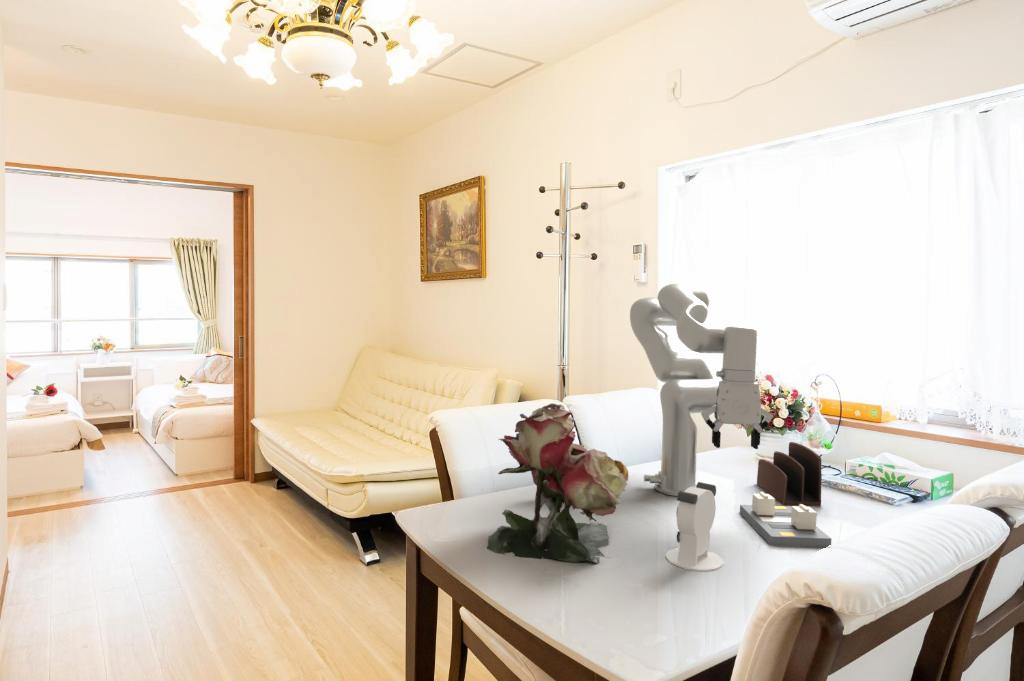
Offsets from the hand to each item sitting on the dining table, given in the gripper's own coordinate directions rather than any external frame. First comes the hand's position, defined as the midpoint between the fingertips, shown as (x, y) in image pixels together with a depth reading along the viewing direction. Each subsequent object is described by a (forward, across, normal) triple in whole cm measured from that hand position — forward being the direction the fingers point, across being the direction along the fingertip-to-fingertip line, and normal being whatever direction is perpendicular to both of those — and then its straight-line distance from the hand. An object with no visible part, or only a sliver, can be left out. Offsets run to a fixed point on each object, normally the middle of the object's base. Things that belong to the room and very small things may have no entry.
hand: (735, 447), depth 156 cm
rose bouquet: (+19, -43, -16) cm, 50 cm away
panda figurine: (+19, -15, -25) cm, 35 cm away
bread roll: (+18, -27, +30) cm, 45 cm away
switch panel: (+18, +10, -4) cm, 21 cm away
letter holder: (+19, +22, +24) cm, 38 cm away
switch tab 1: (+16, +7, 0) cm, 18 cm away
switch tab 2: (+16, +13, -9) cm, 23 cm away
